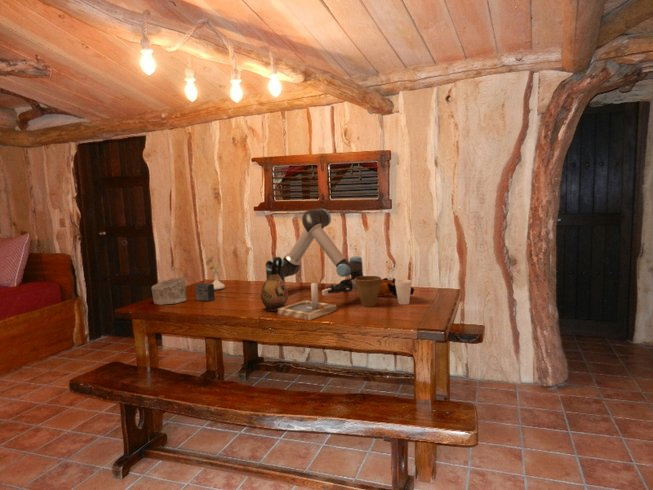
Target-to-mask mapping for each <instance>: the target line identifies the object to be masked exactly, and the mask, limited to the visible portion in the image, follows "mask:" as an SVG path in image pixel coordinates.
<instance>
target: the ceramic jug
mask: <svg viewBox="0 0 653 490" xmlns="http://www.w3.org/2000/svg"><path fill="white" fill-rule="evenodd" d="M282 259H283V258H282V257H280V256H275V257H273V262H271V261H269V260H268V261H266V263H265V268H266V267H267V268H270V269H271V270H272V271H271V274H270V276H269V277H268V278H267V277H266V280H265V282H264V284H263V286H262V287H261V292H260V300H261V303H262V305H264V307H265V308H266V309H265V310H266V311H268V312H278V311H277V309H279V308H282V307H284V306H285V304H286V303H287V301H288V297H289V290H288V288H287V286H286V283H285V284H284V282H283V280H282V279H281V277H280V270H281V265H282ZM276 261H278V266H277V264H276Z"/></svg>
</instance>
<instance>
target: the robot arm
mask: <svg viewBox="0 0 653 490" xmlns="http://www.w3.org/2000/svg"><path fill="white" fill-rule="evenodd" d="M331 217H332V216H331V214H330V212H329V211H328V210H327V209H324V208H315V209H312V208H311V209H308V210H306V211H305V212H304V213H303V214H302V217H301V223H302V225H303V228H304V229H303V231H302V232H301V234H300V235H299V237H298V239H297V240H296V242H295V244H294V245H293V247H292V248H291V250H290V251H289V253H288V252H287V253H286V254H285V255H284V257H283V258H281V259H282V265H281V270H280V277H281V279H282V280H283V282H284V284H285V285H286V282H285V281H286V280H285V279H286V278H287V277H288V278H289V277H291V276H294V275H296V274H298V273H299V271H300V270H301V264H302V261H301V259H302V258H303V257H304V255H305V253H306V252H307V251H308V248H309V247H310V245H312V243H313V241H314V240H315V241H316V242H317V244H318V245H319V247H320V248H321V250H323V251H324V253H325V254H326V256H327V257H328V258H329V259H330V261H331V262H332V264H333V265H334V266H335V267H336V268H335V269H336V270H335V271H336V274H337V275H338V276H339V277H341V278H343V277H345V278H344V279H342V280H341V281H340V282H339V283H338V284H331V285H329V286H327V287H326V288H325V289H323V290H321V295H322V296H328V295H330V294H339V293H348V292H352V291H355V290H357V287H356V282H355V278H357V277H361V276H365V275H364V272H363V259H362V257H361V256H351V257H349V261H348V260H347V258H346V257H345V256H344V254H343V253H342V252H341V250H340V249H339V248H338V247H337V246H336V244H335V243H334V242H333V240H332V239H331V237H330V236H329V235H328V234H327V232H326V231H325V230H324V228H326V227H328V226H329V225H330V224H331V221H332V218H331ZM273 259H274V258H273ZM273 259H270V260H268V261H271V262H273ZM276 264H277V266H278V261H276ZM271 271H272V270H271V269H270V268H267V267H266V266H265V273H266V275H265V277H266V279H267V278H268V277H269V276H270V274H271ZM348 276H350V277H348ZM346 277H347V278H346Z"/></svg>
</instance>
